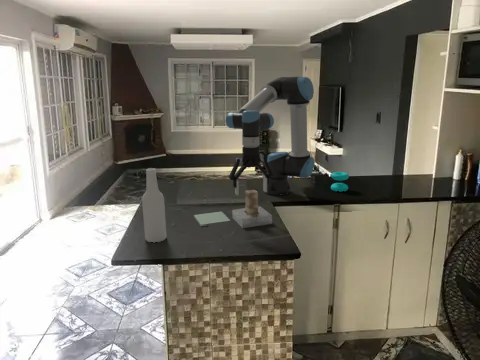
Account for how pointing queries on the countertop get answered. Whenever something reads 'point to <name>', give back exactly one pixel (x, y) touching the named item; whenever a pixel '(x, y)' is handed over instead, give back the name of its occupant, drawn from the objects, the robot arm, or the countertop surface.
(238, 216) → the hole block
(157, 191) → the alcohol
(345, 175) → the donuts
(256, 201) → the square peg
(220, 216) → the pad
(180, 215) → the countertop surface
